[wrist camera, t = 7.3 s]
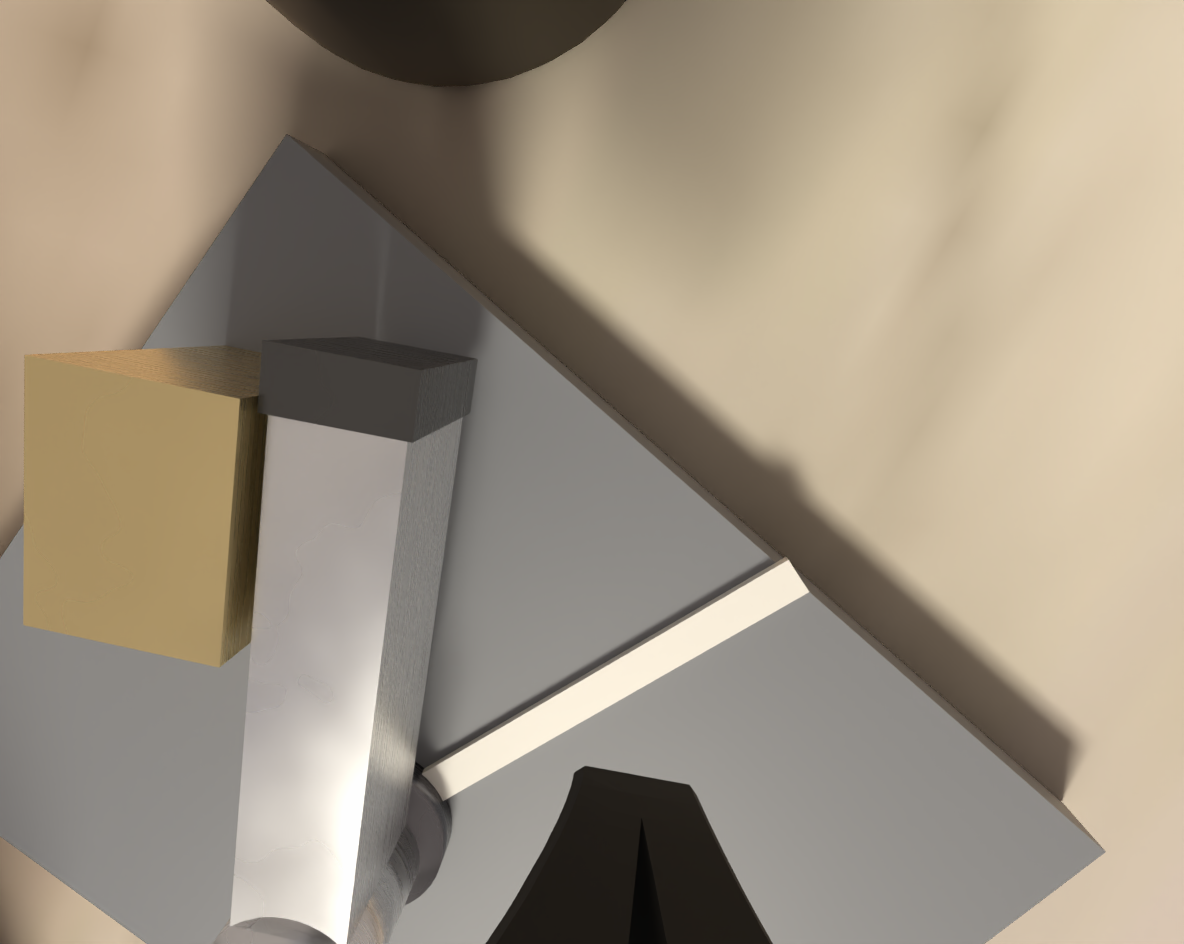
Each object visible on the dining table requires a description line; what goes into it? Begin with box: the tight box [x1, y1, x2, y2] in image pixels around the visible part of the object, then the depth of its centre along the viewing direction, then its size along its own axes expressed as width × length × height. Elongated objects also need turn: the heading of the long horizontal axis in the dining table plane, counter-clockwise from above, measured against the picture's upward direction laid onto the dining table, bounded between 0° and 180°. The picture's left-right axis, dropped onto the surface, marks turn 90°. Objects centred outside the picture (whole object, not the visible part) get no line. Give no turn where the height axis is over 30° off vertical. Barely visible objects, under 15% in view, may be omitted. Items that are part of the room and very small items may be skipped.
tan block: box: [23, 345, 268, 668], centre depth 12 cm, size 4×3×4 cm
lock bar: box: [212, 336, 478, 944], centre depth 12 cm, size 12×3×3 cm, turn 170°
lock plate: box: [0, 134, 1105, 944], centre depth 16 cm, size 18×22×2 cm
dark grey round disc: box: [405, 762, 452, 905], centre depth 15 cm, size 4×4×1 cm
